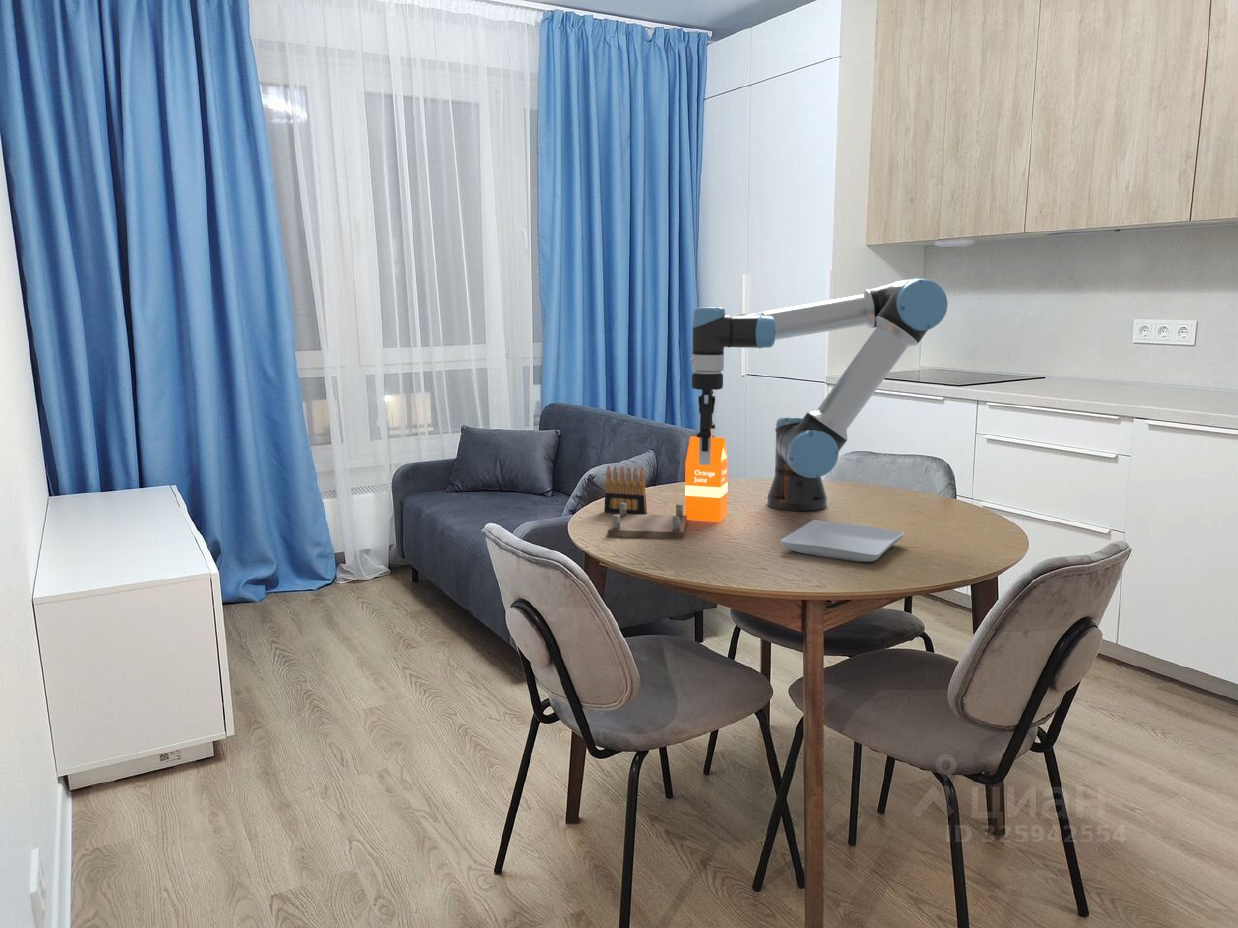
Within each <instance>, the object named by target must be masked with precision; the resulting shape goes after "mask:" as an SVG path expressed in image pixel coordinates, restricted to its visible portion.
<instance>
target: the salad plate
mask: <svg viewBox="0 0 1238 928" xmlns="http://www.w3.org/2000/svg"><path fill="white" fill-rule="evenodd" d="M905 534H906V533H905V532H904V531H900V530H894V529H886V528H880V527H874V526H867V525H863V524H862V525H861V524H854V523H853V524H852V523H847V522H845V523H844V522H835V521H827V520H819V519H813V520H811V521H809V522H807V523H805V524H804V525H802V526H801V527H799V528H798V529H796V530H795V531H793V532H792V533H790V534H788V535H786V536H785V537H783V538H782V539H780V540H779V542H780V544H781V545H782V546H783V547H785V549H788V550H790V551H793V552H795V553H800V554H805V555H811V556H817V557H823V558H824V557H825V558H829V559H830V558H832V559H836V560H838V559H839V560H846V561H852V562H858V563H859V562H860V563H865V562H866V563H870V562H871V563H872V562H873V561H877V560H879V558H880V557H881V556H882V555H883V554H884V553H885V552H886V551H887V550H889V549H890V548H892V547H893V545H895V544H897V543H898V542H899V541H900V540H901V539H902V538H903V537H905Z"/></svg>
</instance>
